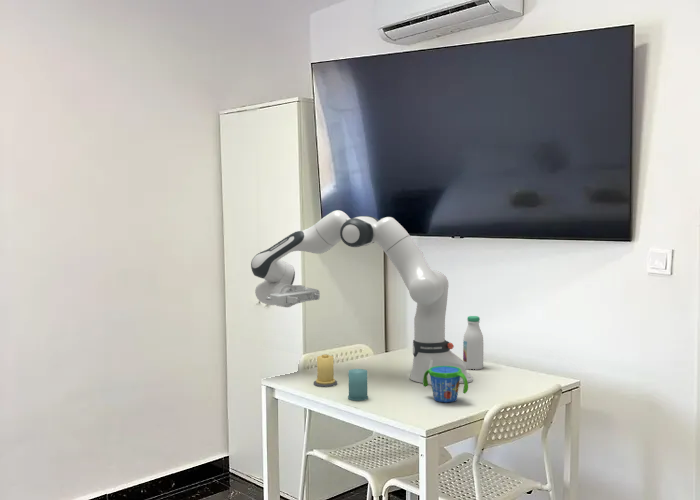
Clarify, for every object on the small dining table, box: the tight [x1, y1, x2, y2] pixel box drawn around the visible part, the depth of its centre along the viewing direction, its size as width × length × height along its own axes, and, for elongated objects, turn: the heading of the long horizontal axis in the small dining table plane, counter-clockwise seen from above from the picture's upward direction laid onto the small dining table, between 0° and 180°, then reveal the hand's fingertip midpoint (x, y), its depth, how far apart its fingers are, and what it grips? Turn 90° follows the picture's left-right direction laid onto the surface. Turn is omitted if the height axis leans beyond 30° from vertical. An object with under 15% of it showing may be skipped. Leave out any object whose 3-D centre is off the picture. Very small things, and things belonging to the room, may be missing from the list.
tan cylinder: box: [315, 353, 336, 385], centre depth 248 cm, size 7×7×10 cm
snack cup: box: [422, 366, 469, 403], centre depth 226 cm, size 16×10×10 cm
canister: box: [347, 368, 369, 402], centre depth 229 cm, size 7×7×9 cm
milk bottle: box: [462, 315, 484, 371], centre depth 269 cm, size 8×8×20 cm
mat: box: [313, 379, 338, 388], centre depth 248 cm, size 8×8×1 cm
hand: (308, 298), depth 257 cm, fingers open, 8 cm apart
